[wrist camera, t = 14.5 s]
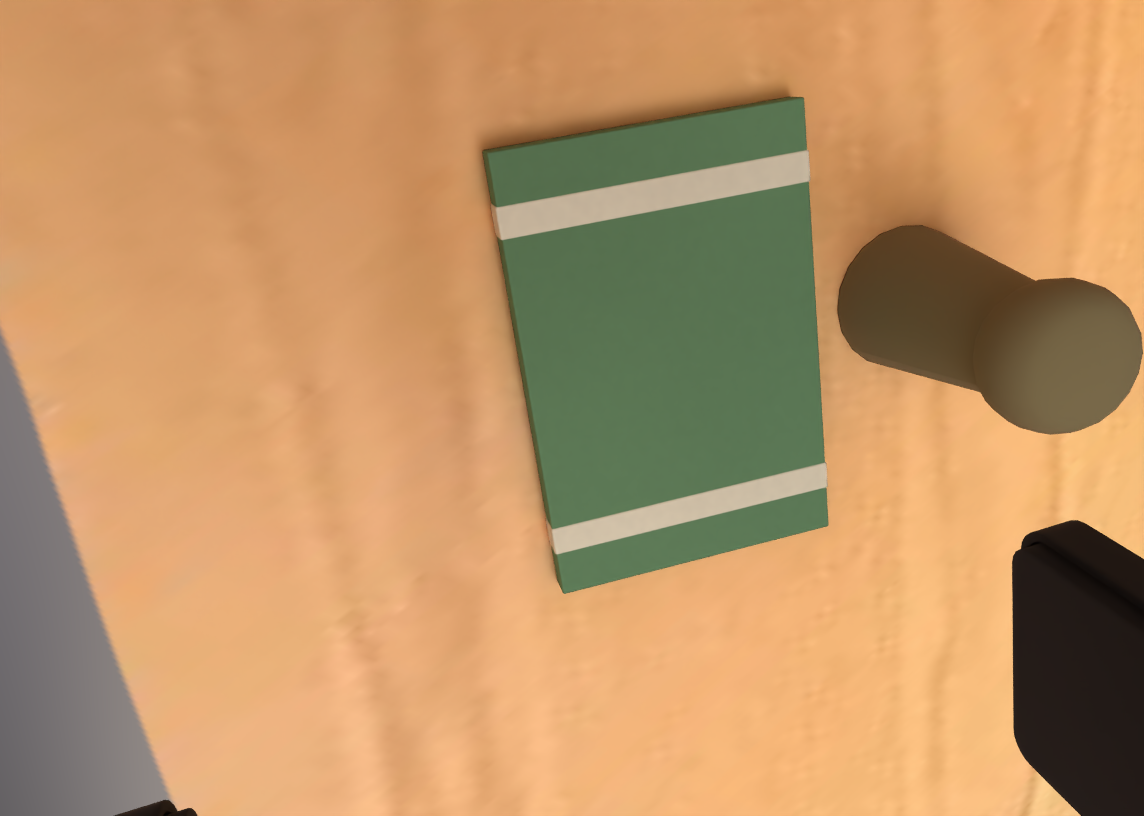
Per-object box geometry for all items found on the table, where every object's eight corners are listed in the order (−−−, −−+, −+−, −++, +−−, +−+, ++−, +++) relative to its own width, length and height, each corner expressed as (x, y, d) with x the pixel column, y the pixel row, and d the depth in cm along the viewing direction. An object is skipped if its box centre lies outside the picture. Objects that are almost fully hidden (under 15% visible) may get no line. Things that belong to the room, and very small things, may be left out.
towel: (480, 150, 35) (485, 153, 33) (791, 96, 37) (806, 96, 35) (556, 581, 41) (562, 595, 40) (817, 514, 43) (830, 526, 42)
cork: (943, 198, 39) (1155, 240, 29) (984, 322, 42) (1192, 401, 32) (817, 270, 39) (987, 338, 29) (865, 391, 42) (1037, 493, 31)
